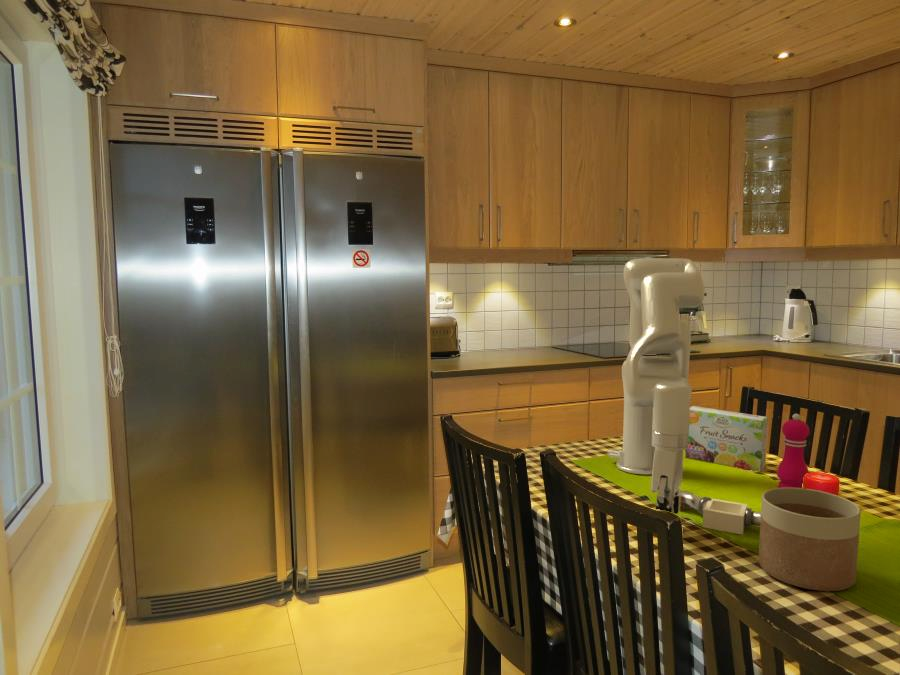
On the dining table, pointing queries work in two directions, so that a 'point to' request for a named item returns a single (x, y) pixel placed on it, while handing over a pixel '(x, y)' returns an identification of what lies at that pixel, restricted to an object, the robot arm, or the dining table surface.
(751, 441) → the snack box
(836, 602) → the dining table surface
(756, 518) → the shaft
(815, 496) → the planter
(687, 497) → the shaft
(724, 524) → the cream open box
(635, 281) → the robot arm
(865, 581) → the dining table surface
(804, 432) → the pepper mill
